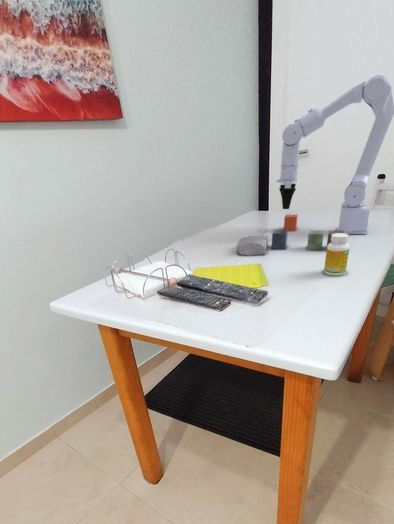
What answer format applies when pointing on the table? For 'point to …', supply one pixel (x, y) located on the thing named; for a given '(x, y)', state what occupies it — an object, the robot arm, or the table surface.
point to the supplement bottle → (337, 254)
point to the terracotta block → (290, 222)
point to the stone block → (252, 245)
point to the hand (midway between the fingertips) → (286, 207)
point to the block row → (313, 239)
